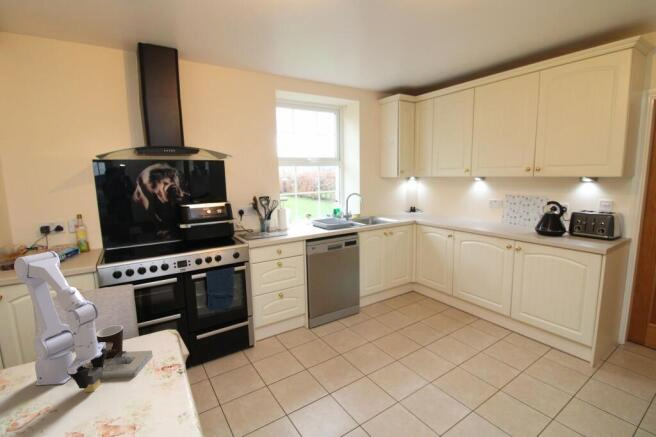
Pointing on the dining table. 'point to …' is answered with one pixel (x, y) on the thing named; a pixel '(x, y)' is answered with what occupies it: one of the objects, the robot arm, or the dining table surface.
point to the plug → (94, 379)
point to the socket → (121, 369)
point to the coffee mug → (111, 340)
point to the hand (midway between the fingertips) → (91, 380)
